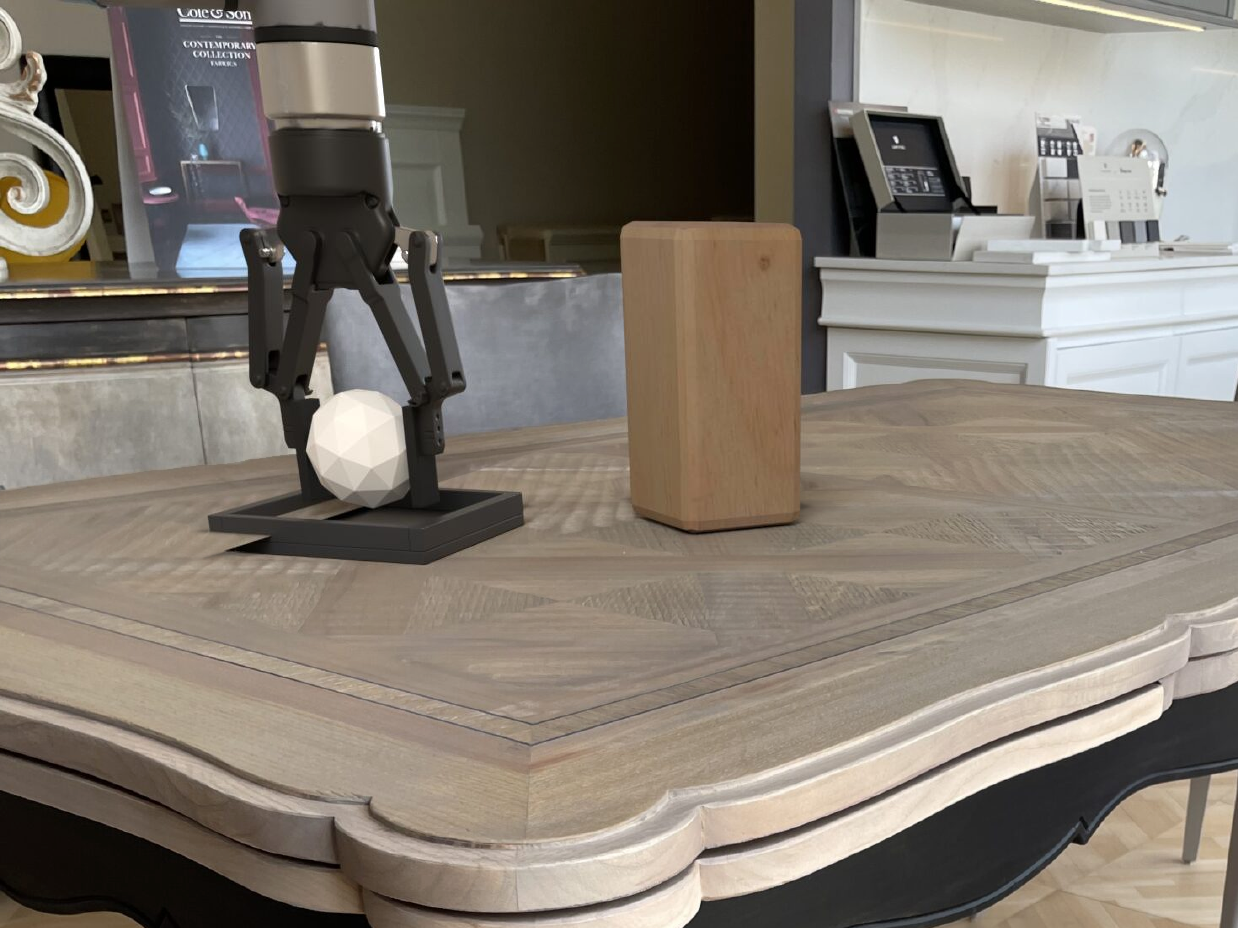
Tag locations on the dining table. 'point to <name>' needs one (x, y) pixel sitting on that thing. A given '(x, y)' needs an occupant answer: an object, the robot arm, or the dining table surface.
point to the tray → (375, 526)
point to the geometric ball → (360, 448)
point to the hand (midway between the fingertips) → (371, 501)
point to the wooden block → (713, 372)
